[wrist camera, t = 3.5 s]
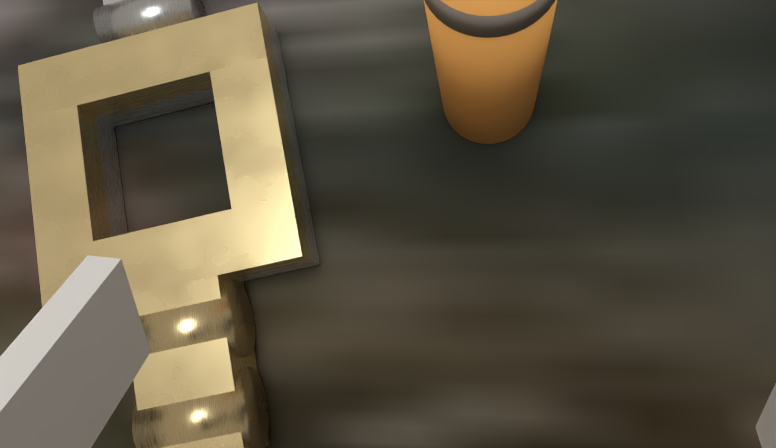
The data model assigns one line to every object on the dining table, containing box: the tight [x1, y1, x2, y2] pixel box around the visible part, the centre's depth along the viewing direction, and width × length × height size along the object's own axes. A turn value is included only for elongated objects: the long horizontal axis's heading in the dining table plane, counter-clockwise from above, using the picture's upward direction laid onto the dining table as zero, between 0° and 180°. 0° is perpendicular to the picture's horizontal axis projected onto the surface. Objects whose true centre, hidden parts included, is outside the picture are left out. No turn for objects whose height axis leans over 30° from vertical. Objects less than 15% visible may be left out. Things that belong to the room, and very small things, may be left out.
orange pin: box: [424, 0, 557, 144], centre depth 24 cm, size 4×4×12 cm
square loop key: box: [18, 0, 320, 448], centre depth 30 cm, size 11×25×3 cm, turn 11°
